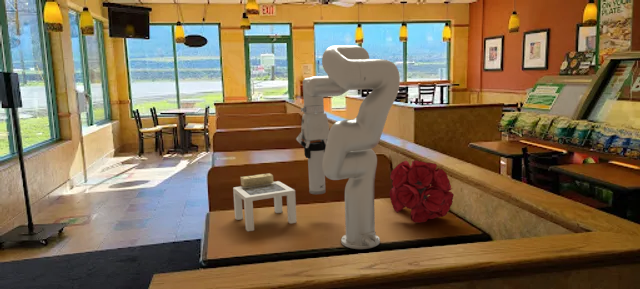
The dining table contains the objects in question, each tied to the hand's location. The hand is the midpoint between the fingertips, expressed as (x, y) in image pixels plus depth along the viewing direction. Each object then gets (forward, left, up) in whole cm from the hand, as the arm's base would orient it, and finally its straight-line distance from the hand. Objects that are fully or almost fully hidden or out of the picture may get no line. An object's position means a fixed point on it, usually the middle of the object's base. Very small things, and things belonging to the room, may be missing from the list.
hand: (316, 156), depth 171 cm
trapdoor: (+8, +20, -12) cm, 25 cm away
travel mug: (0, 0, -14) cm, 14 cm away
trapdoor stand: (+6, +20, -24) cm, 31 cm away
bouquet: (-22, -31, -24) cm, 45 cm away
